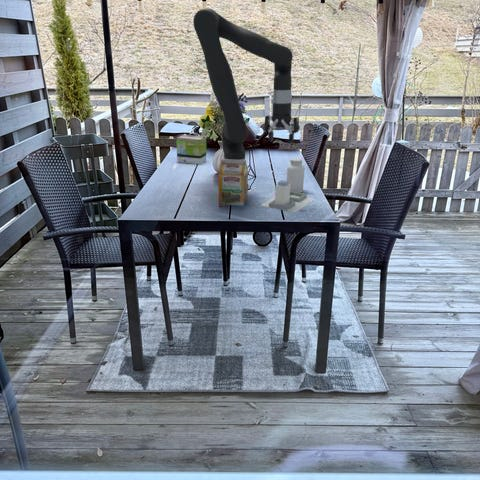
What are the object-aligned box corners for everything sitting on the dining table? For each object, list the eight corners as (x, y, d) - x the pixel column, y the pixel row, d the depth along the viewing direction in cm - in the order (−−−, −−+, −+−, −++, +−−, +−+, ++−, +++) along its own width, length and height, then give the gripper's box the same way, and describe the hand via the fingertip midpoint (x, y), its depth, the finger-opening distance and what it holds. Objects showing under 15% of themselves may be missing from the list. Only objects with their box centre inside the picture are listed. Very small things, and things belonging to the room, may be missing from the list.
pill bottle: (289, 193, 192) (291, 161, 186) (283, 189, 199) (285, 157, 193) (305, 192, 194) (308, 160, 188) (298, 187, 201) (301, 156, 195)
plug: (284, 208, 170) (285, 183, 166) (273, 206, 172) (274, 182, 168) (289, 205, 174) (290, 181, 169) (278, 203, 176) (279, 179, 172)
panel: (295, 215, 166) (295, 208, 165) (259, 207, 174) (259, 201, 173) (315, 201, 182) (315, 195, 181) (282, 195, 190) (282, 189, 189)
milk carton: (218, 207, 174) (218, 161, 167) (223, 199, 184) (223, 156, 176) (243, 208, 173) (244, 163, 165) (247, 200, 182) (248, 157, 175)
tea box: (176, 162, 246) (175, 137, 240) (183, 159, 254) (182, 134, 248) (200, 164, 242) (199, 139, 236) (206, 161, 250) (206, 136, 244)
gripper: (262, 101, 167) (261, 142, 174) (295, 103, 161) (293, 145, 168) (269, 99, 173) (269, 139, 180) (302, 101, 167) (300, 141, 174)
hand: (281, 142), depth 174 cm, fingers open, 8 cm apart
